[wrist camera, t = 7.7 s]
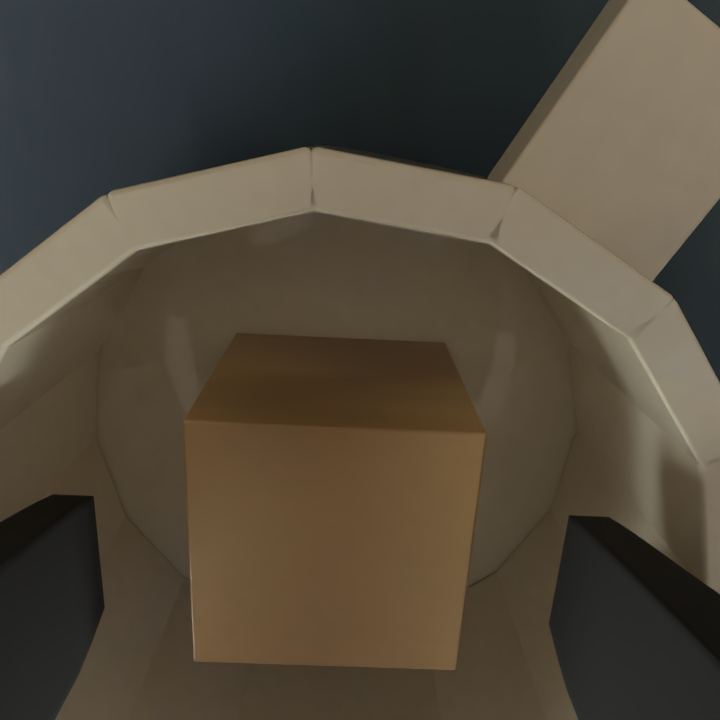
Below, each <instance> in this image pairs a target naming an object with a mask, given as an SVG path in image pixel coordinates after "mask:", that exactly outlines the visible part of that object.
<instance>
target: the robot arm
mask: <svg viewBox="0 0 720 720" xmlns="http://www.w3.org/2000/svg"><path fill="white" fill-rule="evenodd" d="M104 608H105V605H104V595H103V585H102V575H101V565H100V555H99V545H98V535H97V525H96V515H95V505H94V496H83V495H58V494H52V495H50V496H48V497H46V498H44V499H42V500H40V501H38V502H36V503H34V504H32V505H30V506H28V507H26V508H24V509H23V510H21V511H19V512H17V513H15V514H14V515H12V516H10V517H8V518H6V519H5V520H3V521H1V522H0V720H55V719H56V717H57V715H58V713H59V711H60V709H61V708H62V706H63V704H64V702H65V700H66V698H67V696H68V694H69V692H70V691H71V689H72V687H73V685H74V683H75V681H76V679H77V677H78V675H79V673H80V671H81V668H82V666H83V663H84V661H85V658H86V656H87V653H88V651H89V648H90V646H91V643H92V641H93V638H94V635H95V633H96V630H97V627H98V625H99V622H100V619H101V617H102V614H103V611H104ZM549 626H550V630H551V634H552V638H553V642H554V646H555V650H556V654H557V658H558V662H559V665H560V669H561V672H562V676H563V679H564V683H565V686H566V690H567V692H568V695H569V697H570V700H571V703H572V705H573V708H574V710H575V713H576V715H577V718H578V720H720V594H719V593H717V592H716V591H715V590H713V589H712V588H710V587H709V586H707V585H706V584H705V583H703V582H702V581H700V580H699V579H698V578H696V577H695V576H693V575H692V574H691V573H689V572H688V571H686V570H685V569H684V568H682V567H681V566H679V565H678V564H677V563H675V562H674V561H673V560H671V559H670V558H668V557H667V556H666V555H664V554H663V553H661V552H660V551H659V550H657V549H656V548H654V547H653V546H652V545H650V544H649V543H647V542H646V541H645V540H643V539H642V538H640V537H639V536H638V535H636V534H635V533H633V532H632V531H630V530H629V529H627V528H626V527H624V526H623V525H621V524H620V523H618V522H616V521H615V520H613V519H611V518H610V517H600V516H575V515H569V518H568V524H567V529H566V534H565V540H564V545H563V550H562V556H561V561H560V566H559V572H558V577H557V583H556V588H555V593H554V599H553V604H552V609H551V615H550V620H549Z"/></svg>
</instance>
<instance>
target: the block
mask: <svg viewBox="0 0 720 720" xmlns="http://www.w3.org/2000/svg"><path fill="white" fill-rule="evenodd" d="M486 438H487V434H486V432H485V430H484V427H483V425H482V423H481V421H480V419H479V416H478V414H477V412H476V410H475V408H474V405H473V403H472V401H471V399H470V397H469V395H468V392H467V390H466V388H465V386H464V384H463V381H462V379H461V377H460V375H459V373H458V371H457V368H456V366H455V364H454V362H453V360H452V357H451V355H450V353H449V351H448V349H447V347H446V344H445V343H439V342H418V341H396V340H375V339H353V338H332V337H310V336H289V335H267V334H246V333H237V334H236V335H235V337H234V338H233V340H232V342H231V343H230V345H229V347H228V348H227V350H226V351H225V353H224V355H223V356H222V358H221V360H220V361H219V363H218V365H217V366H216V368H215V370H214V371H213V373H212V374H211V376H210V378H209V379H208V381H207V383H206V384H205V386H204V388H203V389H202V391H201V392H200V394H199V396H198V397H197V399H196V401H195V402H194V404H193V406H192V407H191V409H190V411H189V412H188V414H187V415H186V417H185V419H184V420H183V441H184V463H185V486H186V508H187V531H188V553H189V576H190V598H191V620H192V643H193V660H194V661H195V662H221V663H252V664H283V665H314V666H345V667H375V668H406V669H437V670H455V669H456V667H457V660H458V653H459V645H460V637H461V630H462V622H463V614H464V607H465V599H466V591H467V584H468V576H469V568H470V561H471V553H472V545H473V538H474V530H475V522H476V515H477V507H478V499H479V492H480V484H481V476H482V469H483V461H484V453H485V446H486Z"/></svg>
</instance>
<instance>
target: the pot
mask: <svg viewBox="0 0 720 720" xmlns="http://www.w3.org/2000/svg"><path fill="white" fill-rule="evenodd" d="M719 199H720V28H719V27H718V26H717V25H716V24H715V23H713V22H712V21H711V20H710V19H709V18H707V17H706V16H705V15H704V14H703V13H701V12H700V11H699V10H698V9H697V8H695V7H694V6H693V5H692V4H691V3H689V2H688V1H687V0H609V1H608V2H607V4H606V5H605V7H604V8H603V10H602V11H601V13H600V14H599V16H598V17H597V18H596V20H595V21H594V23H593V24H592V26H591V27H590V29H589V30H588V32H587V33H586V34H585V36H584V37H583V39H582V40H581V42H580V43H579V45H578V46H577V48H576V49H575V50H574V52H573V53H572V55H571V56H570V58H569V59H568V61H567V62H566V64H565V65H564V67H563V68H562V69H561V71H560V72H559V74H558V75H557V77H556V78H555V80H554V81H553V83H552V84H551V85H550V87H549V88H548V90H547V91H546V93H545V94H544V96H543V97H542V99H541V100H540V101H539V103H538V104H537V106H536V107H535V109H534V110H533V112H532V113H531V115H530V116H529V118H528V119H527V120H526V122H525V123H524V125H523V126H522V128H521V129H520V131H519V132H518V134H517V135H516V136H515V138H514V139H513V141H512V142H511V144H510V145H509V147H508V148H507V150H506V151H505V152H504V154H503V155H502V157H501V158H500V160H499V161H498V163H497V164H496V166H495V167H494V169H493V170H492V171H491V173H490V174H489V176H488V177H487V178H485V177H481V176H478V175H474V174H470V173H466V172H463V171H459V170H455V169H451V168H448V167H443V166H438V165H433V164H428V163H423V162H418V161H413V160H407V159H402V158H397V157H392V156H388V155H382V154H377V153H372V152H366V151H361V150H356V149H351V148H346V147H341V146H336V145H329V146H327V145H319V146H309V147H302V148H297V149H293V150H288V151H284V152H279V153H275V154H271V155H266V156H262V157H257V158H253V159H248V160H244V161H240V162H235V163H231V164H226V165H222V166H218V167H213V168H209V169H204V170H200V171H195V172H191V173H187V174H182V175H178V176H173V177H169V178H164V179H160V180H156V181H151V182H147V183H142V184H138V185H134V186H129V187H125V188H120V189H116V190H112V191H111V192H109V193H108V195H103V196H100V197H99V198H98V199H96V200H95V201H94V202H92V203H91V204H90V205H89V206H87V207H86V208H85V209H83V210H82V211H81V212H80V213H78V214H77V215H76V216H74V217H73V218H72V219H71V220H69V221H68V222H67V223H65V224H64V225H63V226H62V227H60V228H59V229H58V230H57V231H55V232H54V233H53V234H51V235H50V236H49V237H48V238H46V239H45V240H44V241H42V242H41V243H40V244H39V245H37V246H36V247H35V248H33V249H32V250H31V251H30V252H28V253H27V254H26V255H24V256H23V257H22V258H21V259H19V260H18V261H17V262H15V263H14V264H13V265H12V266H10V267H9V268H8V269H6V270H5V271H4V272H3V273H1V274H0V522H1V521H3V520H5V519H6V518H8V517H10V516H12V515H14V514H15V513H17V512H19V511H21V510H23V509H24V508H26V507H28V506H30V505H32V504H34V503H36V502H38V501H40V500H42V499H44V498H46V497H48V496H50V495H52V494H58V495H83V496H94V505H95V515H96V525H97V535H98V545H99V555H100V565H101V575H102V585H103V595H104V605H105V608H104V611H103V614H102V617H101V619H100V622H99V625H98V627H97V630H96V633H95V635H94V638H93V641H92V643H91V646H90V648H89V651H88V653H87V656H86V658H85V661H84V663H83V666H82V668H81V671H80V673H79V675H78V677H77V679H76V681H75V683H74V685H73V687H72V689H71V691H70V692H69V694H68V696H67V698H66V700H65V702H64V704H63V706H62V708H61V709H60V711H59V713H58V715H57V717H56V719H55V720H578V718H577V715H576V713H575V710H574V708H573V705H572V703H571V700H570V697H569V695H568V692H567V690H566V686H565V683H564V679H563V676H562V672H561V669H560V665H559V662H558V658H557V654H556V650H555V646H554V642H553V638H552V634H551V630H550V626H549V620H550V615H551V609H552V604H553V599H554V593H555V588H556V583H557V577H558V572H559V566H560V561H561V556H562V550H563V545H564V540H565V534H566V529H567V524H568V518H569V515H575V516H600V517H610V518H611V519H613V520H615V521H616V522H618V523H620V524H621V525H623V526H624V527H626V528H627V529H629V530H630V531H632V532H633V533H635V534H636V535H638V536H639V537H640V538H642V539H643V540H645V541H646V542H647V543H649V544H650V545H652V546H653V547H654V548H656V549H657V550H659V551H660V552H661V553H663V554H664V555H666V556H667V557H668V558H670V559H671V560H673V561H674V562H675V563H677V564H678V565H679V566H681V567H682V568H684V569H685V570H686V571H688V572H689V573H691V574H692V575H693V576H695V577H696V578H698V579H699V580H700V581H702V582H703V583H705V584H706V585H707V586H709V587H710V588H712V589H713V590H715V591H716V592H717V593H719V594H720V382H719V380H718V378H717V376H716V374H715V372H714V370H713V369H712V367H711V365H710V363H709V361H708V359H707V357H706V355H705V354H704V352H703V350H702V348H701V346H700V344H699V342H698V340H697V339H696V337H695V335H694V333H693V331H692V329H691V327H690V325H689V324H688V322H687V320H686V318H685V316H684V314H683V312H682V310H681V309H680V307H679V305H678V303H677V301H676V300H675V299H673V297H672V295H671V294H669V293H668V292H667V291H665V290H664V289H662V288H661V287H660V286H658V285H657V284H655V283H654V282H653V280H654V279H655V278H656V276H657V275H658V274H659V273H660V272H661V270H662V269H663V268H664V267H665V265H666V264H667V263H668V262H669V260H670V259H671V258H672V257H673V255H674V254H675V253H676V252H677V251H678V249H679V248H680V247H681V246H682V244H683V243H684V242H685V241H686V239H687V238H688V237H689V236H690V234H691V233H692V232H693V231H694V230H695V228H696V227H697V226H698V225H699V223H700V222H701V221H702V220H703V218H704V217H705V216H706V215H707V213H708V212H709V211H710V210H711V209H712V207H713V206H714V205H715V204H716V202H717V201H718V200H719ZM237 333H246V334H267V335H289V336H310V337H332V338H353V339H375V340H396V341H418V342H439V343H445V344H446V347H447V349H448V351H449V353H450V355H451V357H452V360H453V362H454V364H455V366H456V368H457V371H458V373H459V375H460V377H461V379H462V381H463V384H464V386H465V388H466V390H467V392H468V395H469V397H470V399H471V401H472V403H473V405H474V408H475V410H476V412H477V414H478V416H479V419H480V421H481V423H482V425H483V427H484V430H485V432H486V434H487V438H486V446H485V453H484V461H483V469H482V476H481V484H480V492H479V499H478V507H477V515H476V522H475V530H474V538H473V545H472V553H471V561H470V568H469V576H468V584H467V591H466V599H465V607H464V614H463V622H462V630H461V637H460V645H459V653H458V660H457V667H456V669H455V670H437V669H406V668H375V667H345V666H314V665H283V664H252V663H221V662H195V661H194V660H193V643H192V620H191V598H190V576H189V553H188V531H187V508H186V486H185V463H184V441H183V420H184V419H185V417H186V415H187V414H188V412H189V411H190V409H191V407H192V406H193V404H194V402H195V401H196V399H197V397H198V396H199V394H200V392H201V391H202V389H203V388H204V386H205V384H206V383H207V381H208V379H209V378H210V376H211V374H212V373H213V371H214V370H215V368H216V366H217V365H218V363H219V361H220V360H221V358H222V356H223V355H224V353H225V351H226V350H227V348H228V347H229V345H230V343H231V342H232V340H233V338H234V337H235V335H236V334H237Z"/></svg>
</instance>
